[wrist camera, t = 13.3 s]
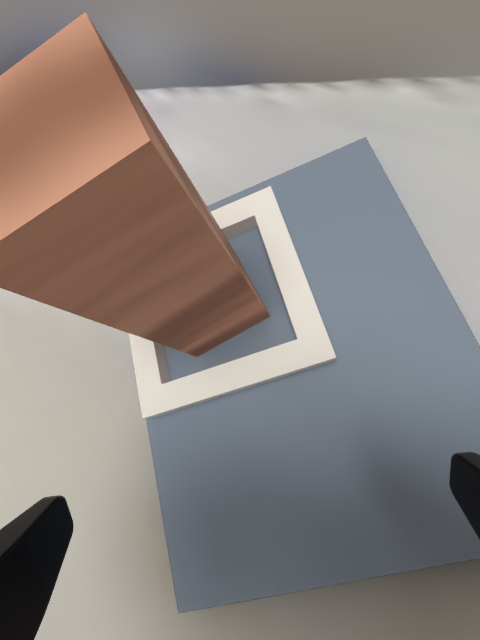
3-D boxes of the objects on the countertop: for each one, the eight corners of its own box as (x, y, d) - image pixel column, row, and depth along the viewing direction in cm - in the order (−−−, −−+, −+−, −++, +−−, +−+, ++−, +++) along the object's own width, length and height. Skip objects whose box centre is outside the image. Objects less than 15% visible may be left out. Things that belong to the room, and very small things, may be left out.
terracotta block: (270, 316, 18) (150, 140, 6) (197, 356, 19) (-47, 271, 7) (234, 251, 20) (85, 12, 8) (168, 290, 20) (-66, 124, 8)
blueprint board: (566, 529, 13) (610, 552, 11) (186, 601, 16) (166, 629, 14) (364, 149, 20) (367, 120, 18) (126, 251, 23) (106, 237, 21)
